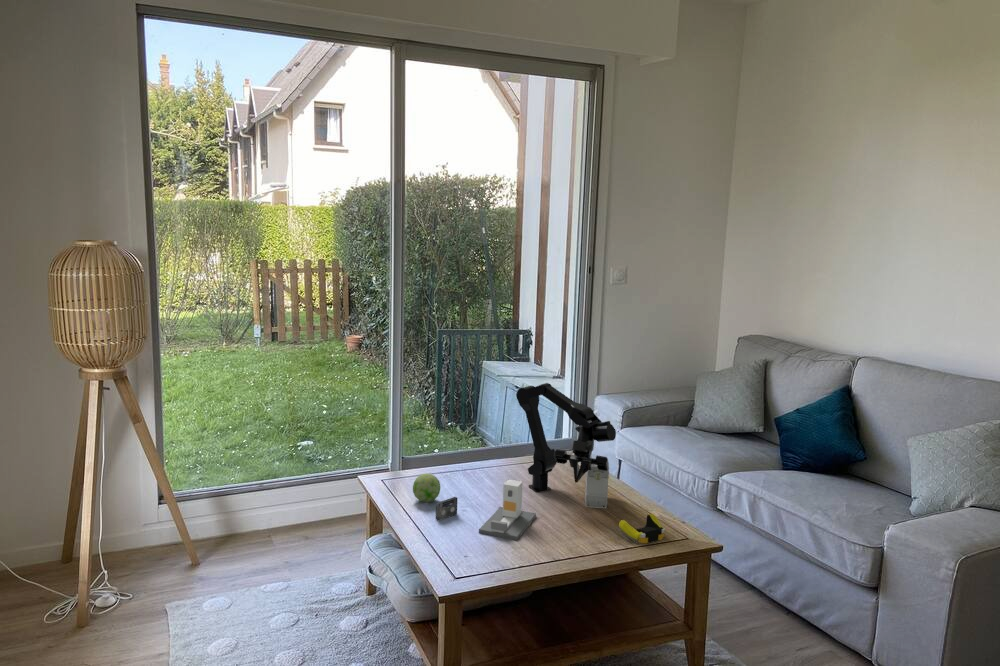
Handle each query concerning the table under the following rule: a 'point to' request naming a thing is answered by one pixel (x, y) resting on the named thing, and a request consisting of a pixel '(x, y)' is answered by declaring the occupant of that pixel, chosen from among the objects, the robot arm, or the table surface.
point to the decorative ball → (426, 487)
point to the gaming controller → (644, 530)
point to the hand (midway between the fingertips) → (575, 482)
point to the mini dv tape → (446, 508)
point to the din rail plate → (507, 524)
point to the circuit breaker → (596, 487)
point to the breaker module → (512, 498)
